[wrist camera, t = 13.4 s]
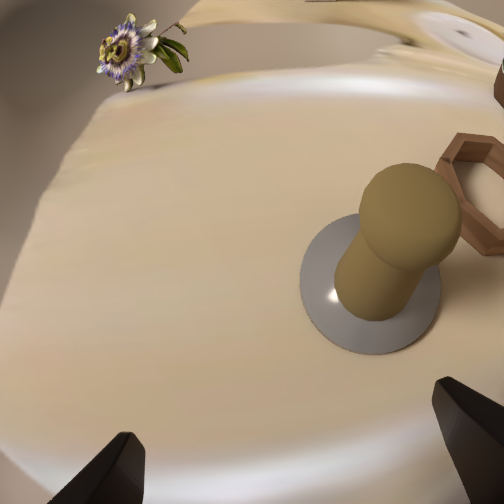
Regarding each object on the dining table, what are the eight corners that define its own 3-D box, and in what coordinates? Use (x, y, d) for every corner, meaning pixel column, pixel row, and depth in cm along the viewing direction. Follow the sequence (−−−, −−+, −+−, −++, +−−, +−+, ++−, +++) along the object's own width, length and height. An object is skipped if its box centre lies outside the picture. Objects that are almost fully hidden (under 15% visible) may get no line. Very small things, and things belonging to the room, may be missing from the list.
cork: (371, 228, 24) (404, 126, 14) (426, 281, 21) (497, 202, 12) (316, 279, 23) (326, 190, 13) (375, 339, 20) (436, 291, 11)
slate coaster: (446, 345, 20) (450, 344, 19) (302, 360, 21) (302, 359, 21) (423, 214, 24) (425, 211, 24) (296, 220, 26) (295, 216, 25)
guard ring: (540, 251, 21) (556, 237, 18) (452, 258, 22) (468, 242, 20) (503, 156, 26) (514, 139, 23) (420, 151, 27) (428, 130, 24)
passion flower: (144, 114, 43) (77, 80, 35) (170, 63, 45) (111, 30, 37) (183, 85, 35) (101, 38, 27) (210, 31, 37) (142, -12, 29)
